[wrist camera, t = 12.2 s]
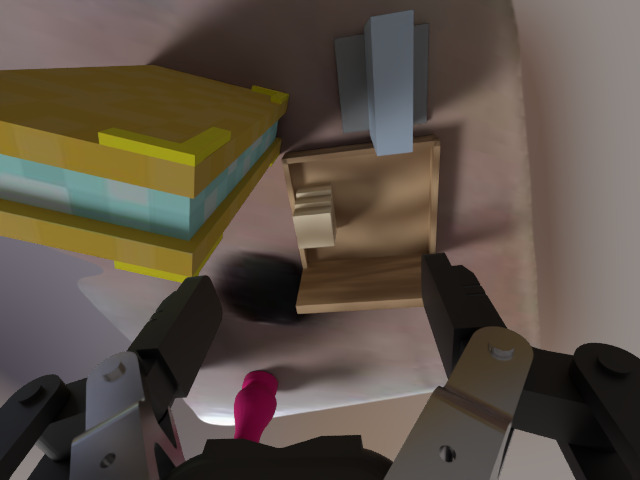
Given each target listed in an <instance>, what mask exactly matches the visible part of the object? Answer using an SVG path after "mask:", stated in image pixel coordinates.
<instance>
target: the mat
mask: <svg viewBox="0 0 640 480" xmlns="http://www.w3.org/2000/svg"><path fill="white" fill-rule="evenodd" d="M428 43H429V23H426V24H420V25H414V33H413V124H421V123H427V83H428ZM334 44H335V54H336V64H337V75H338V85H339V95H340V105H341V115H342V126H343V133H350V132H358V131H366V130H370V127H369V109H368V92H367V74H366V57H365V39H364V34H360V35H354V36H348V37H342V38H336V39H334Z"/></svg>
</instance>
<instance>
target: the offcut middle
mask: <svg viewBox="0 0 640 480" xmlns="http://www.w3.org/2000/svg"><path fill="white" fill-rule="evenodd" d="M328 205H331V210H332V218H333V225H334V233H335V241H336V229H335V222H334V214H333V206H332V198H331V194H328V195H319V196H309V197H300V198H296V201H295V204H294V206H295V209H298V208H308V207H318V206H328Z"/></svg>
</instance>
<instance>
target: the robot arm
mask: <svg viewBox="0 0 640 480" xmlns="http://www.w3.org/2000/svg"><path fill="white" fill-rule="evenodd" d="M421 293H422V300H423V305H424V308H425V311H426V314H427V317H428V320H429V323H430V326H431V329H432V332H433V335H434V338H435V341H436V344H437V347H438V351H439V354H440V357H441V360H442V363H443V366H444V369H445V372H446V375H447V378H448V381H447V383H446V385H445V386H444V387H441V386H438V387H437V388H436V389H435V390H434V392H433V393H432V395H431V396H430V398H429V400H428V402H427V404H426V405H425V407H424V409H423V411H422V412H421V414H420V416H419V418H418V420H417V421H416V423H415V425H414V427H413V428H412V430H411V432H410V434H409V436H408V437H407V439H406V441H405V443H404V444H403V446H402V448H401V450H400V451H399V453H398V455H397V457H396V458H395V460H394V462H392V461H391V460H390V459H388V458H386V457H384V456H382V455H381V454H379V453H376V452H374V451H372V450H368V449H364V448H363V445H362V439H361V435H345V436H320V437H317V438H314V439H310V440H307V441H304V442H301V443H297V444H294V445H291V446H288V447H284V448H275V447H272V446H268V445H264V444H261V443H258V442H254V441H250V440H247V439H243V438H240V439H208V440H207V442H206V444H205V447H204V450H203V453H202V454H200V455H197V456H195V457H193V458H190V459H189V460H187V461H185V458H184V455H183V452H182V448H181V444H180V441H179V437H178V433H177V429H176V425H175V422H174V417H173V414H172V410H171V408H170V407H169V404H170V402H171V400H172V398H184V397H187V396H188V393H189V391H190V389H191V387H192V385H193V382H194V380H195V378H196V376H197V374H198V371H199V369H200V367H201V365H202V363H203V360H204V358H205V356H206V354H207V351H208V349H209V347H210V345H211V343H212V340H213V338H214V336H215V334H216V332H217V329H218V327H219V325H220V323H221V320H222V307H221V304H220V301H219V299H218V296H217V294H216V291H215V289H214V286H213V284H212V282H211V279H210V278H209V277H208V276H206V275H205V276H195V277H187V278H186V279H185V280H184V281H183V283H182V284H181V285H180V287H179V288H178V290H177V291H174V292H173V293H172V294H171V295H170V296H168V297H167V298H166V299H165V300H163V302H162V303H161V304H160V306H159V307H158V308H157V310H156V313H154V314H153V315H152V317H151V318H150V321H149V322H147V324H146V325H145V326H144V328H143V329H142V330H141V332H140V333H139V335H138V336H137V337H136V339H135V340H134V341H133V343H132V344H131V346H130V347H129V348H128V350H127V351H126V352H120V353H117V354H115V355H112V356H110V357H109V358H107V359H105V360H104V361H102V362H101V363H100V364H99V365H98V366H96V367H95V369H94V370H93V371H92V372H91V373H90V375H89V377H88V378H84V379H82V380H78V381H75V382H72V383H69V384H66V385H65V383H64V382H63V381H62V380H61V379H60V378H59V376H57V375H54V374H52V375H45V376H42V377H39V378H37V379H35V380H33V381H31V382H29V383H28V384H26V385H24V386H23V387H22V388H21V389H19V390H18V391H17V392H15V393H14V394H13V395H12V396H11V397H10V398H9V399H8V400H7V402H6V403H5V404H4V405H3V406H2V407H1V408H0V480H9V479H10V477H11V475H12V474H13V473H14V471H15V470H16V469H17V467H18V466H19V465H20V463H21V462H22V461H23V459H24V458H25V456H26V455H27V454H28V452H29V451H30V450H31V448H32V447H33V446H34V444H35V445H36V446H37V447H38V448H39V449H41V450H42V451H43V452H44V453H45V455H44V456H43V458H42V459H41V460H40V462H39V463H38V465H37V466H36V468H35V469H34V471H33V472H32V473H31V475H30V476H29V478H28V479H27V480H499V476H500V473H501V471H502V468H503V464H504V461H505V458H506V455H507V452H508V449H509V446H510V443H511V440H512V437H513V433H514V430H515V429H519V430H522V431H525V432H529V433H533V434H537V435H540V436H544V437H548V438H551V439H555V440H556V441H557V442H558V445H559V447H560V449H561V451H562V452H563V455H564V457H565V459H566V461H567V463H568V464H569V467H570V469H571V471H572V473H573V475H574V477H575V479H576V480H640V359H639V358H638V357H636V356H635V355H633V354H631V353H629V352H628V351H626V350H623V349H621V348H618V347H615V346H612V345H608V344H602V343H587V344H583V345H581V346H579V347H578V348H577V349H576V351H575V353H574V356H573V355H568V354H562V353H556V352H551V351H546V350H541V349H538V348H534V347H532V346H531V345H530V344H529V343H528V341H527V340H526V339H525V338H524V337H522V336H521V335H519V334H518V333H516V332H514V331H512V330H509V329H507V327H506V326H505V324H504V322H503V321H502V319H501V317H500V316H499V314H498V312H497V311H496V309H495V308H494V306H493V304H492V303H491V301H490V299H489V298H488V296H487V295H486V294H485V291H484V289H483V288H482V286H480V283H479V281H478V280H477V278H476V276H475V275H474V273H472V272H471V271H470V270H468V269H467V268H465V267H464V266H463V265H457V266H451V264H450V262H449V260H448V258H447V256H446V254H445V253H444V252H443V253H433V254H423V255H422V256H421Z"/></svg>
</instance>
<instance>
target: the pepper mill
mask: <svg viewBox="0 0 640 480" xmlns="http://www.w3.org/2000/svg"><path fill="white" fill-rule="evenodd" d="M277 387H278V382H277V380H276V378H275V377H274V376H273V375H271V374H269V373H267V372H263V371H254V372H251V373H249V374H247V375H246V377H245V379H244V382H243V385H242V390H241V391H240V392H239V393H238V394H237V396H236V398H235V403H234V417H235V427H236V428H235V429H236V430H235V436H234V439H240V438H243V439H247V440H250V441H254V442H258V443H259V440H260V437H261V434H262V432H263V430H264V429H265V427H266V426H267V425H268V423H269V422H270V421H271V419H272V417H273V415H274V413H275V410H276V406H277V402H276V398H275V395H276V392H277Z"/></svg>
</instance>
